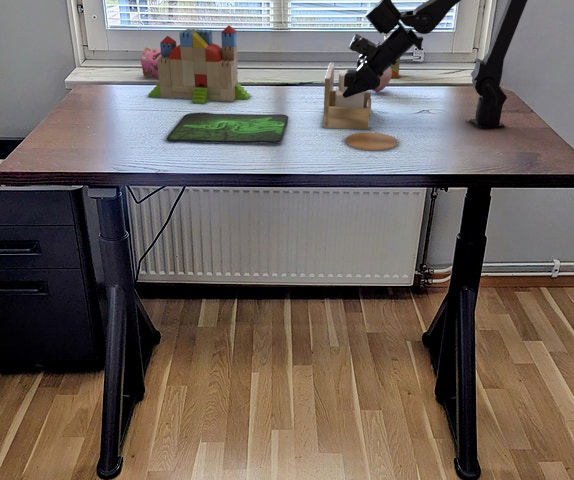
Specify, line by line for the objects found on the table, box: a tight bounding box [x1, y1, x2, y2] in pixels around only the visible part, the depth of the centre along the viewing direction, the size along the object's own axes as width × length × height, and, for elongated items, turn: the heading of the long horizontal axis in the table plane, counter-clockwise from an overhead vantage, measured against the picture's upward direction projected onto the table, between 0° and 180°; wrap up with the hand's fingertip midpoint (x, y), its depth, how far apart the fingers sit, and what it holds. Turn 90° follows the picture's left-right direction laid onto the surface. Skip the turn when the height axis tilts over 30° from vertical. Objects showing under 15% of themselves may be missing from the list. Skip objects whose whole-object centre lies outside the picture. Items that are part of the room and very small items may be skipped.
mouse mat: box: [166, 112, 289, 144], centre depth 156 cm, size 27×22×1 cm
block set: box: [148, 25, 251, 104], centre depth 177 cm, size 28×14×19 cm, turn 80°
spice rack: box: [322, 62, 372, 130], centre depth 162 cm, size 12×17×12 cm
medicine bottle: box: [335, 69, 364, 108], centre depth 162 cm, size 7×7×12 cm
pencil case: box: [140, 47, 162, 79], centre depth 198 cm, size 21×9×9 cm, turn 87°
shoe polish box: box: [383, 34, 401, 79], centre depth 202 cm, size 5×5×12 cm
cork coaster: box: [345, 132, 398, 152], centre depth 149 cm, size 12×12×1 cm
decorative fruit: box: [371, 67, 392, 93], centre depth 185 cm, size 9×8×10 cm
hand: (344, 92), depth 162 cm, fingers closed on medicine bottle, 7 cm apart
